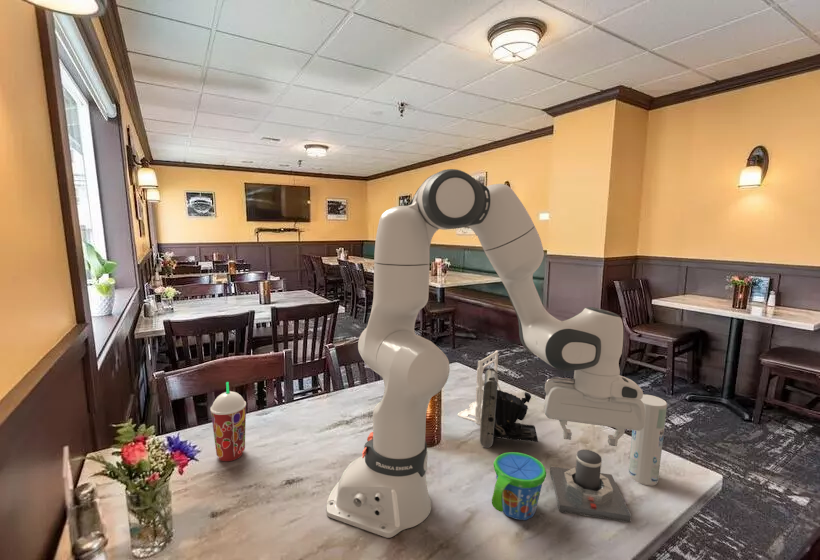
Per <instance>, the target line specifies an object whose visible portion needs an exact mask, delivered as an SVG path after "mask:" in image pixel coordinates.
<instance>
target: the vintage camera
mask: <svg viewBox="0 0 820 560" xmlns="http://www.w3.org/2000/svg"><path fill="white" fill-rule="evenodd" d="M498 376H499V375H498V371H497V372H496V371H495V370H494V368H490V367H489V369H487V370H486V371H485V373H484V379H483V380H484V386H483V400H482V406H481V409H482V414H481V424H480V425H479V426H480V428H479V429H480V430H479V431H480V432H479V442H480V445H481V446H482V447H483V448H486V449H487V448H488V449H489V448H490V447H492V445H493V444H494V438H498V439H506V440H513V441H526V442H534V443H536V442H537V443H538V442H539V438H538V434H537V430H536V426H535V425H533V424H526V423H525V424H523V423H519V422H517V420H519V421H523V420H524V419H525V417H526V415H527V413H528V410H529V407H528V405H527V404H529V403H530V401H531V399H532V395H531V394H530V393H529V392H526V391H524V397H518V396H517V395H515V394H512V393H509V392H506V391H503V390H502V389H501V390H499V388H498V384H499V378H498ZM526 403H527V404H526Z"/></svg>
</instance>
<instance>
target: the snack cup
mask: <svg viewBox="0 0 820 560" xmlns="http://www.w3.org/2000/svg"><path fill="white" fill-rule="evenodd" d="M493 468H494V469H493V470H494V473H495V474H496V482H495V484H494V489H493V495H492V498H491V505H492V507H493V508H494V509H495V510H496V511H498V512H500V513H502V512H503V513H504V515H506V516H507V517H510V518H512V519H515V520H520V521H521V520H523V521H527V520H529V519H531V518H533V516H534V515H535V513H536V511H537V507H538V503H539V500H540V496H541V492H542V486H543V483H544V482H545V480H546V479H547V471H546V467H545V466H544V465H543V463H542V462H541V460H539V459H537V458H535V457H534V456H532V455H529V454H526V453H523V452H517V451H516V452H515V451H514V452H513V451H511V452H503V453H502V454H499V455H497V456H496V458H495V460H494V461H493Z"/></svg>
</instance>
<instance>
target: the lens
mask: <svg viewBox="0 0 820 560" xmlns="http://www.w3.org/2000/svg"><path fill="white" fill-rule="evenodd" d="M602 461H603V460H602V456H601V455H600V454H598V453H597V452H595V451H593V450H590V449H579V450H578V451H576V463H575V467H576V474H575V483H576V484H577V485H579V486H580V487H582V488H584V489H587V490H595V491H599V481H600V473H601V471H602V469H601V468H602Z"/></svg>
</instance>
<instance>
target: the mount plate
mask: <svg viewBox="0 0 820 560" xmlns="http://www.w3.org/2000/svg"><path fill="white" fill-rule="evenodd" d="M549 470H550V473H549V474H550V477H551V481H552V486H553V492H554V495H555V499H556V503H557V508H558V511H559V512H562V513H568V514H574V515H580V516H586V517H587V516H588V517H594V518H599V519H607V520H612V521H619V522H620V521H621V522H624V523H625V522H626V523H631V519H632V515H631V512H630V510H629V509H628V506H627V504H626V502H625V500H624V497H623V496H622V494H621V491H620V489H619V487H618V485H617V483H616V481H615V478H614V477H613V475H612V474H611V473H610V474H609V473H603V472H602V473H601V472H600V481H599V491H595V490H587V489H584V488H582V487H580V486H579V485H577V484H576V483H575V474H576V466H574V467H572V468H565V467H557V466H550V469H549Z"/></svg>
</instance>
